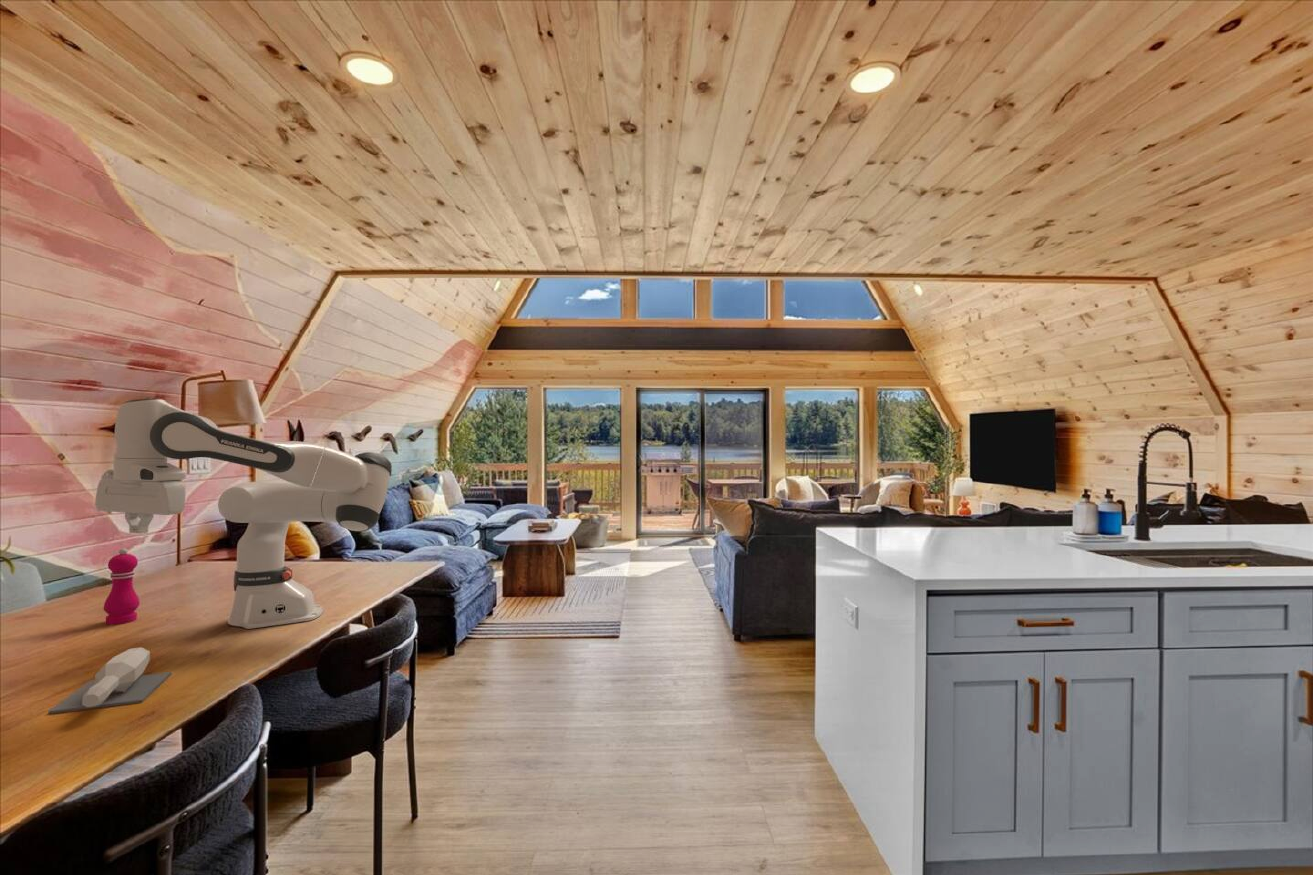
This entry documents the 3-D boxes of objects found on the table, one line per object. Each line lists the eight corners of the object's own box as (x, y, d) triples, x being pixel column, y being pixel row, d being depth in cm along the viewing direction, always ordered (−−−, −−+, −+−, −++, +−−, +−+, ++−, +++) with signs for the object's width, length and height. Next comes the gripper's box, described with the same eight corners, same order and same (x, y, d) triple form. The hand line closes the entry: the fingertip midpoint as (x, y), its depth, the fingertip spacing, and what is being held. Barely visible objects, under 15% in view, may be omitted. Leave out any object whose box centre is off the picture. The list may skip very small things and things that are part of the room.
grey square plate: (171, 674, 122) (171, 671, 122) (142, 702, 109) (142, 699, 109) (89, 683, 117) (89, 681, 117) (48, 713, 104) (48, 711, 104)
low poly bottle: (161, 646, 123) (120, 685, 104) (148, 675, 122) (104, 720, 103) (125, 640, 121) (76, 680, 101) (111, 670, 120) (59, 716, 100)
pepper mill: (108, 627, 151) (110, 551, 151) (99, 622, 155) (101, 548, 155) (143, 620, 157) (145, 548, 157) (133, 615, 161) (135, 545, 161)
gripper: (86, 469, 125) (84, 532, 125) (163, 473, 121) (161, 538, 121) (118, 468, 131) (116, 528, 131) (192, 471, 127) (190, 533, 127)
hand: (138, 533), depth 126 cm, fingers closed
